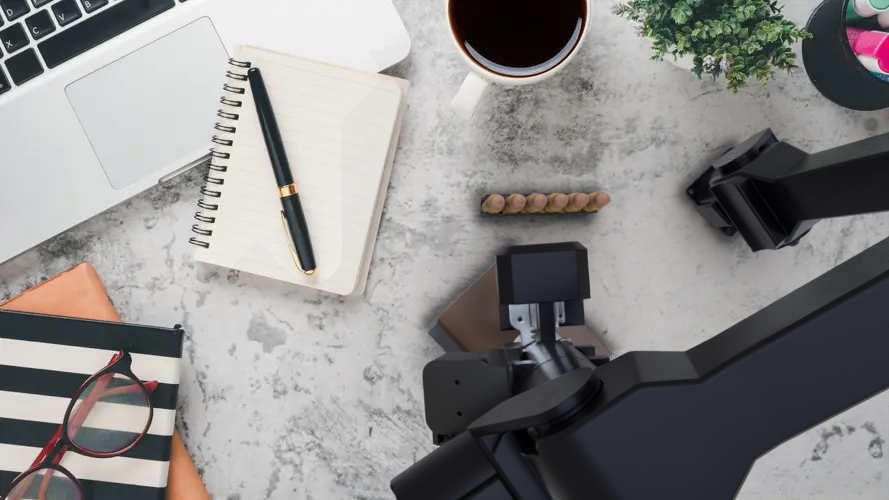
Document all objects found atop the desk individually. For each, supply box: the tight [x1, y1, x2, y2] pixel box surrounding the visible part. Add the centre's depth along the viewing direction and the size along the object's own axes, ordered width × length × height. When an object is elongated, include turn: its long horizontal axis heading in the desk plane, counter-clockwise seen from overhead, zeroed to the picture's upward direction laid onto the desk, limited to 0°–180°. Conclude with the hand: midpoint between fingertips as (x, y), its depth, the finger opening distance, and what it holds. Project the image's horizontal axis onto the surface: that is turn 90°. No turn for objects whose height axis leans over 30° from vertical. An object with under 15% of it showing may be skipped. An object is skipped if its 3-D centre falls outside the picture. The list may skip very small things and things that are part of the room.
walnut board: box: [427, 261, 613, 358], centre depth 62 cm, size 11×14×6 cm
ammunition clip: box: [480, 191, 611, 218], centre depth 59 cm, size 11×2×12 cm, turn 91°
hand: (533, 357), depth 53 cm, fingers closed on milkshake, 5 cm apart
